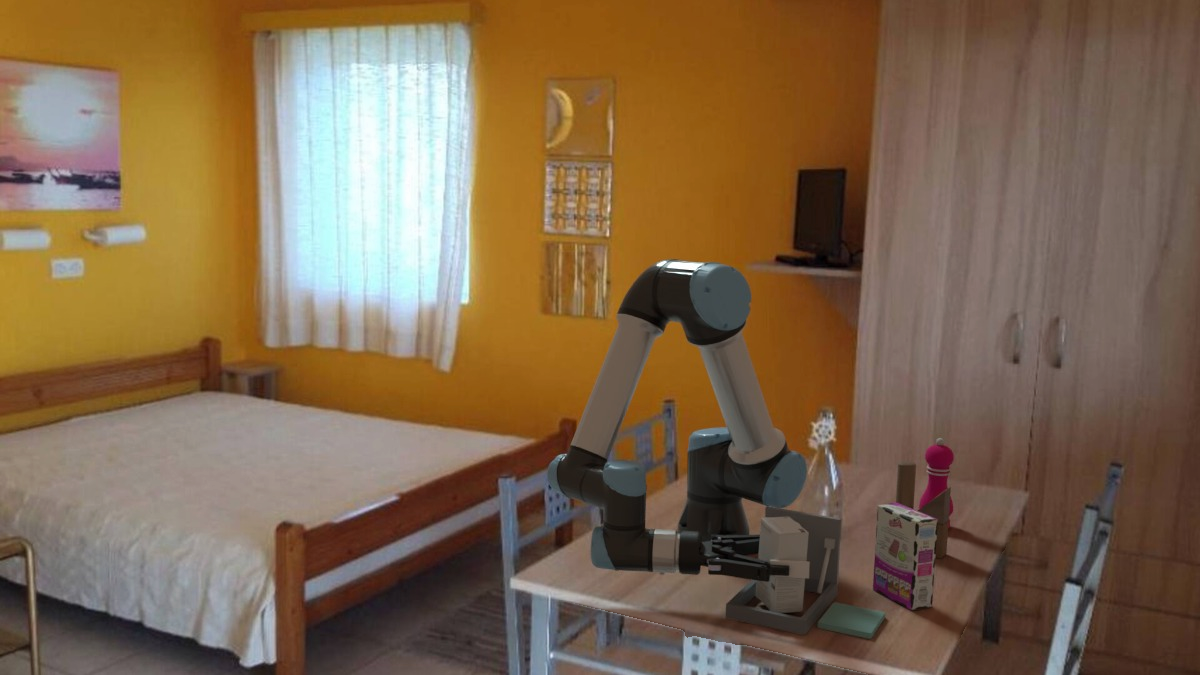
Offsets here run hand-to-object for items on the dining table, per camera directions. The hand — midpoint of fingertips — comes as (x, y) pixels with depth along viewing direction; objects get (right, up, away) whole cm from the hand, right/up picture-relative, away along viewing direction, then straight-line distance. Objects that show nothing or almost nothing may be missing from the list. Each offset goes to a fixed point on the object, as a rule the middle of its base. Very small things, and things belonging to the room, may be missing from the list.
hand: (807, 559), depth 183 cm
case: (-4, -9, +4) cm, 10 cm away
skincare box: (-4, -8, +2) cm, 10 cm away
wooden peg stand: (+29, -5, +34) cm, 45 cm away
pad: (+7, -10, -3) cm, 13 cm away
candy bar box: (+19, -9, +8) cm, 22 cm away
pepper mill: (+38, -3, +49) cm, 62 cm away
